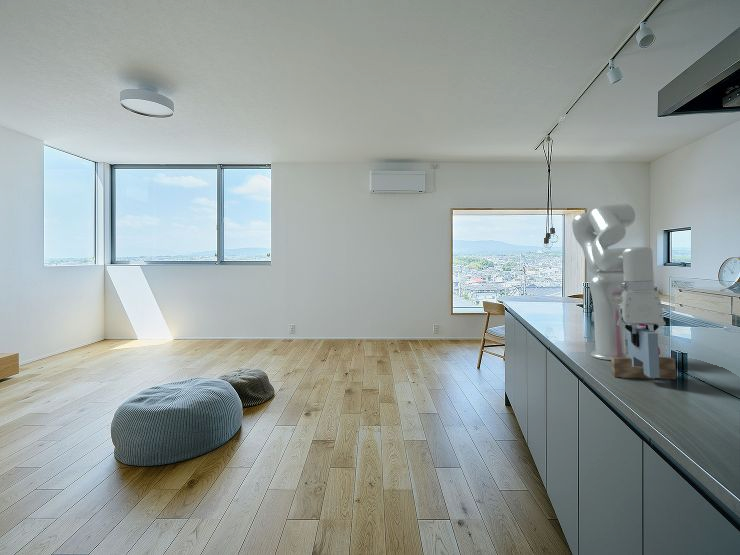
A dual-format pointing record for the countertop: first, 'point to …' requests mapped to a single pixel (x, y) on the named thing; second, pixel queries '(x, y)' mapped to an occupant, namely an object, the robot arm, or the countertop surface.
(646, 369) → the light blue flat board
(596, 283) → the robot arm
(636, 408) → the countertop surface
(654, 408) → the countertop surface
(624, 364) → the brown wooden u-shaped block
